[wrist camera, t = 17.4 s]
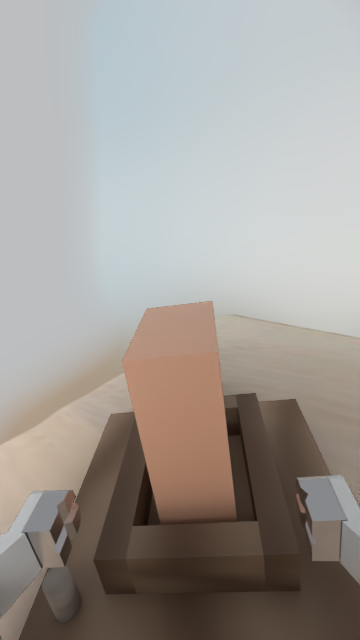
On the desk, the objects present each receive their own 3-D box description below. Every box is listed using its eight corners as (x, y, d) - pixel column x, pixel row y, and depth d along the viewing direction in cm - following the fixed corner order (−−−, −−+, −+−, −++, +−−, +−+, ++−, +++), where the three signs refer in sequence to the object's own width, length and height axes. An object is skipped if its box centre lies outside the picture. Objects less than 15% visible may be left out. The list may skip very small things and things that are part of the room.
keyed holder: (295, 410, 27) (294, 373, 26) (412, 677, 12) (425, 620, 11) (113, 424, 29) (104, 390, 27) (20, 672, 14) (-11, 624, 12)
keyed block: (228, 445, 23) (212, 300, 19) (239, 536, 17) (218, 351, 13) (173, 449, 23) (146, 308, 19) (164, 539, 17) (122, 360, 13)
